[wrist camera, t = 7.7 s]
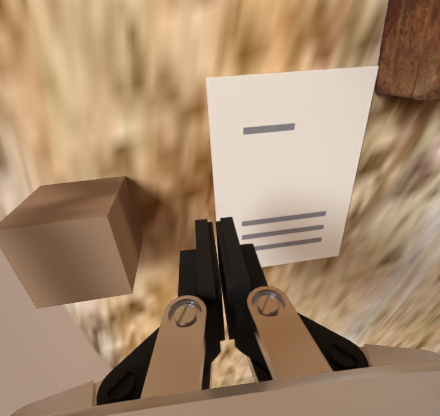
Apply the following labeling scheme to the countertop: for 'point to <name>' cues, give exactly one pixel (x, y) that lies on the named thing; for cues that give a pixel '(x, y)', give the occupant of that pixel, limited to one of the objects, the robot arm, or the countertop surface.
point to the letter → (288, 157)
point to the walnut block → (74, 241)
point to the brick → (410, 50)
